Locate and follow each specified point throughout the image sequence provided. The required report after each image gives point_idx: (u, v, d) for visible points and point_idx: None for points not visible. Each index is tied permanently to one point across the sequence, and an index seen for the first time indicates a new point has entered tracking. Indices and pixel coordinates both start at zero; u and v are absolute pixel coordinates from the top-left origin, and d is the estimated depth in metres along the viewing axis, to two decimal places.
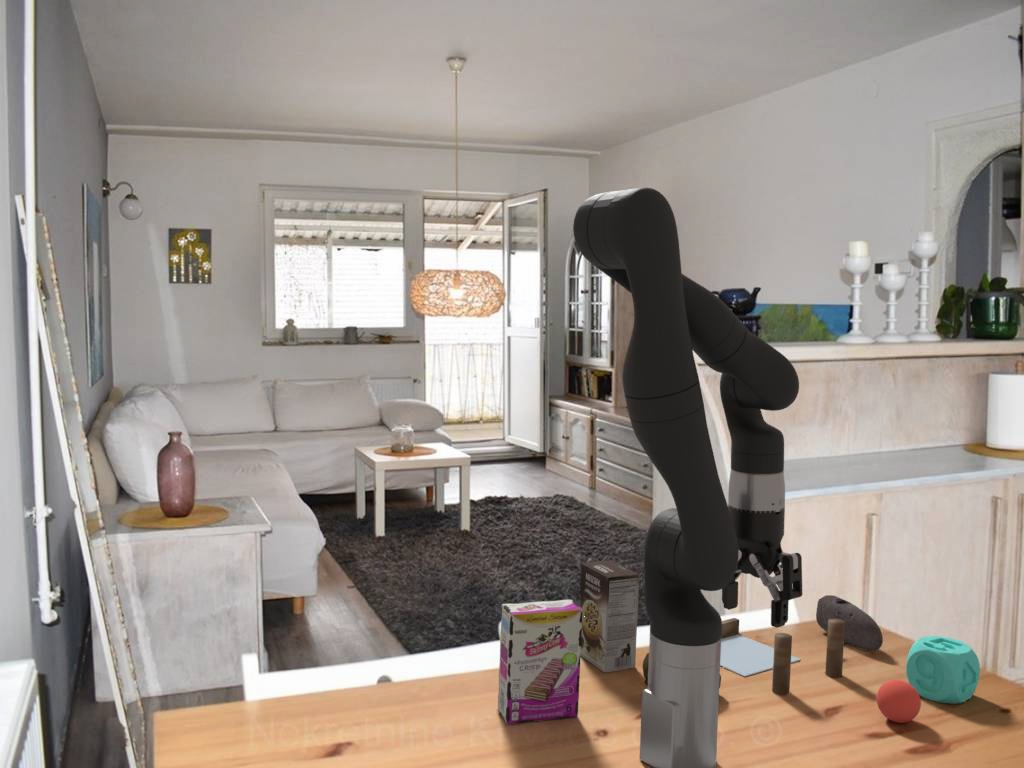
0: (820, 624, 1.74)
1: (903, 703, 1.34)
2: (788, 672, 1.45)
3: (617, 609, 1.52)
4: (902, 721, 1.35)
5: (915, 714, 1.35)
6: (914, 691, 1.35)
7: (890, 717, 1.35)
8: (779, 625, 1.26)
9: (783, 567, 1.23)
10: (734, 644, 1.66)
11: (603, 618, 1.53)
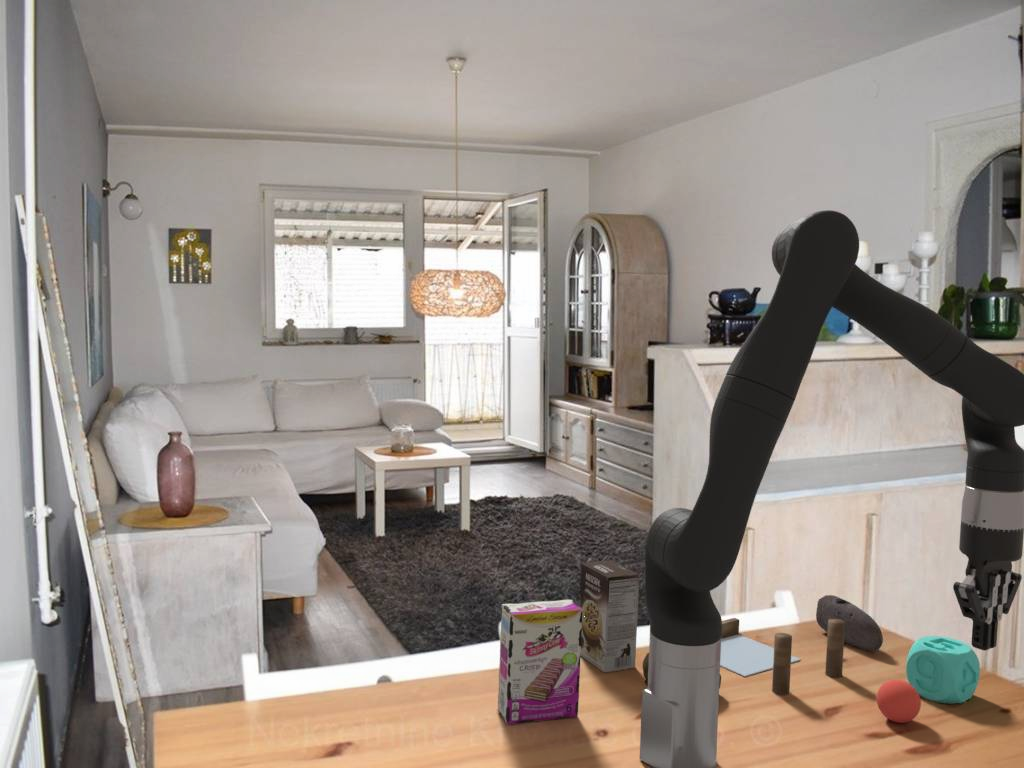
0: (820, 624, 1.74)
1: (903, 703, 1.34)
2: (788, 672, 1.45)
3: (617, 609, 1.52)
4: (902, 721, 1.35)
5: (915, 714, 1.35)
6: (914, 691, 1.35)
7: (890, 717, 1.35)
8: None
9: (1015, 584, 1.27)
10: (734, 644, 1.66)
11: (603, 618, 1.53)
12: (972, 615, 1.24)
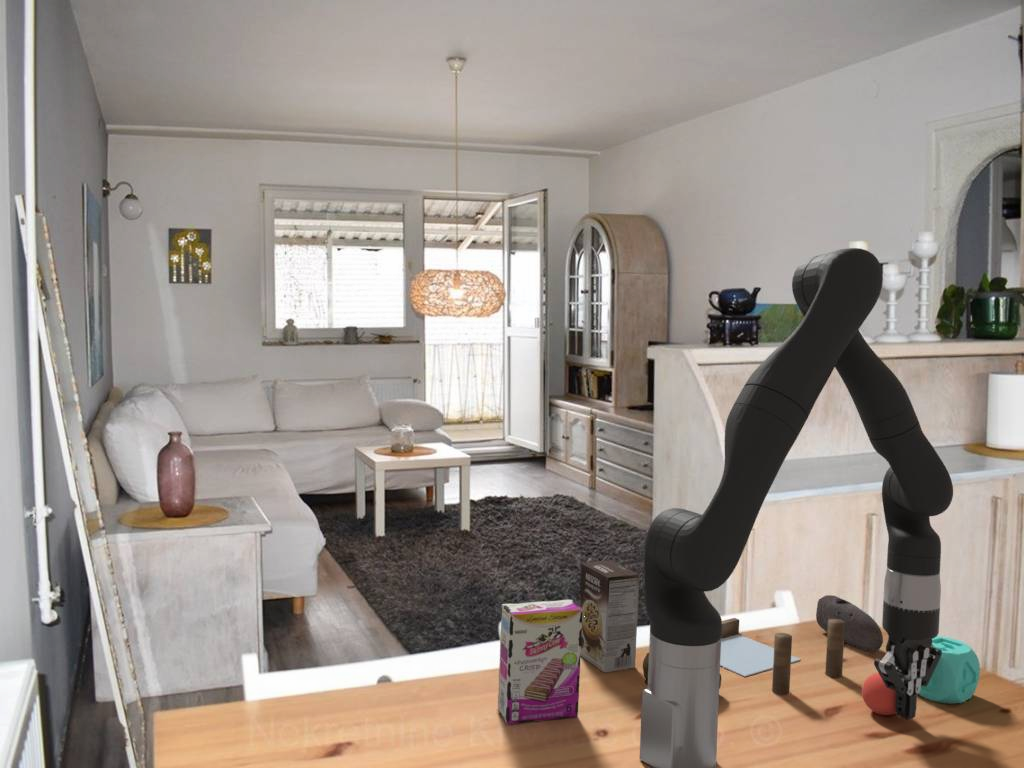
0: (820, 624, 1.74)
1: (882, 685, 1.37)
2: (788, 672, 1.45)
3: (617, 609, 1.52)
4: (893, 706, 1.37)
5: None
6: None
7: (881, 707, 1.37)
8: None
9: (935, 658, 1.37)
10: (734, 644, 1.66)
11: (603, 618, 1.53)
12: (894, 687, 1.34)
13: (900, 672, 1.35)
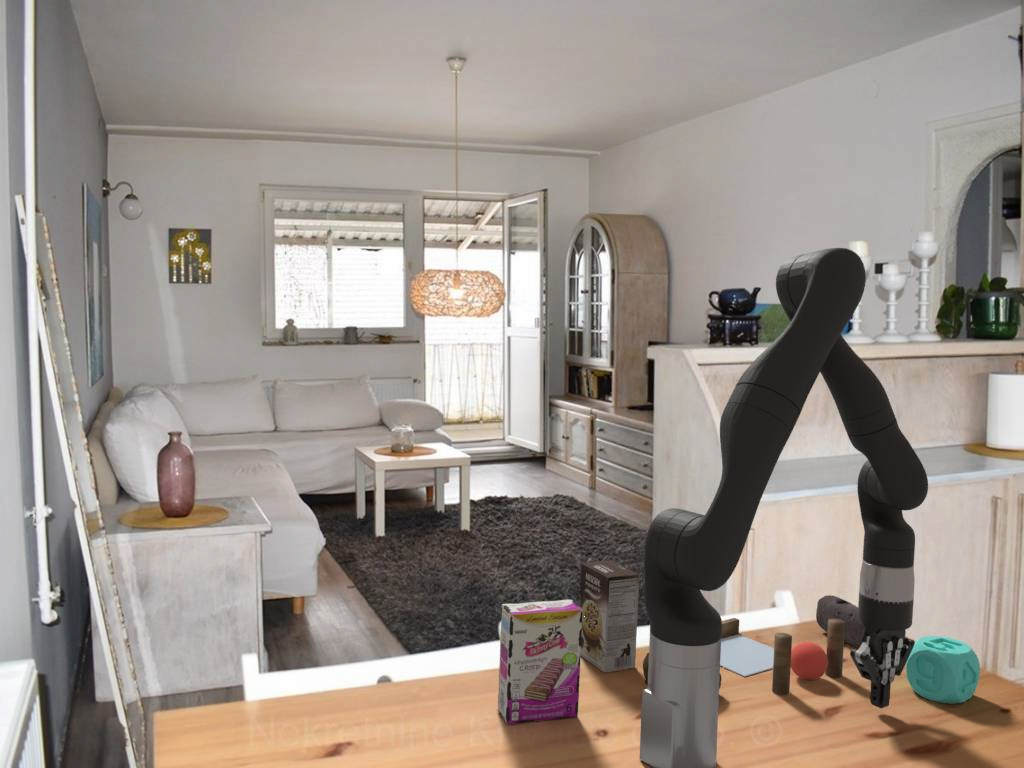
0: (820, 624, 1.74)
1: (810, 674, 1.49)
2: (788, 672, 1.45)
3: (617, 609, 1.52)
4: None
5: None
6: (825, 667, 1.50)
7: (793, 670, 1.52)
8: None
9: (908, 648, 1.40)
10: (734, 644, 1.66)
11: (603, 618, 1.53)
12: (869, 677, 1.37)
13: (875, 662, 1.38)
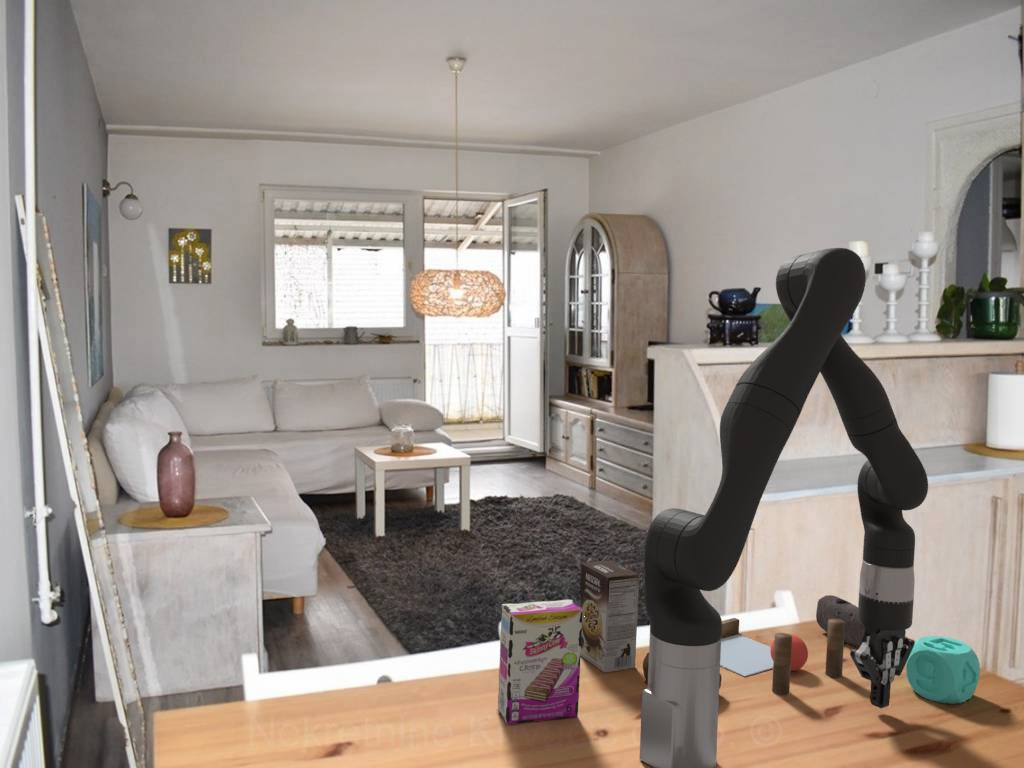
0: (820, 624, 1.74)
1: None
2: (788, 672, 1.45)
3: (617, 609, 1.52)
4: (795, 665, 1.53)
5: (804, 655, 1.53)
6: (797, 637, 1.55)
7: None
8: None
9: (908, 648, 1.40)
10: (734, 644, 1.66)
11: (603, 618, 1.53)
12: (869, 677, 1.37)
13: (875, 662, 1.38)
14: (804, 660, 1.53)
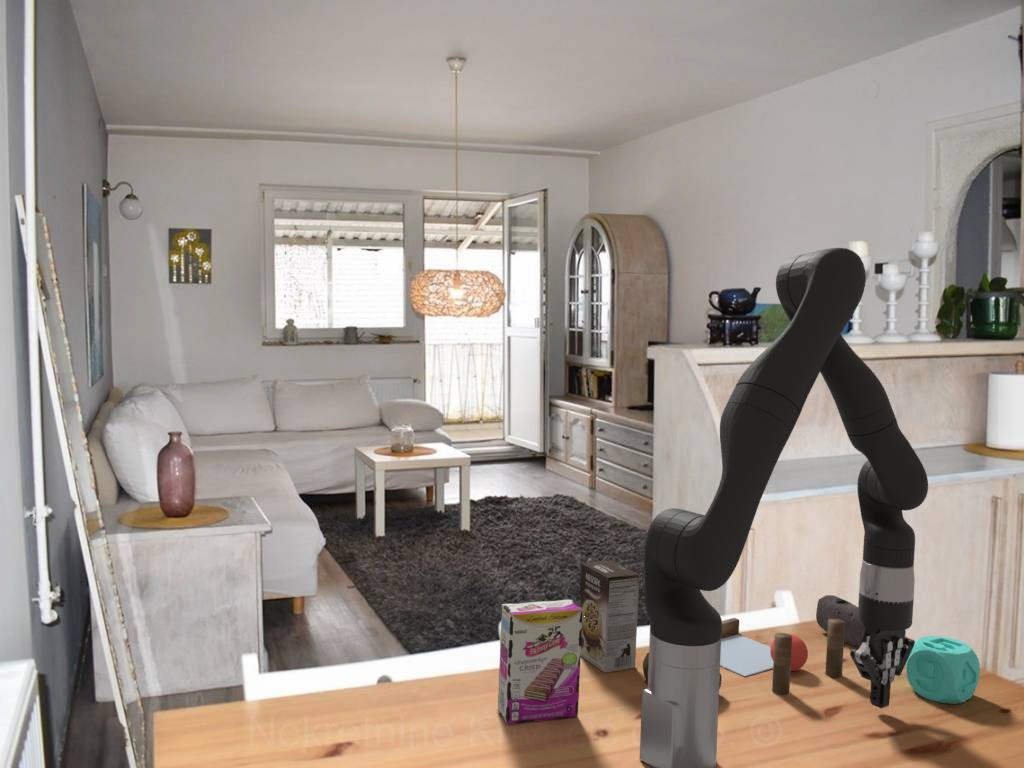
0: (820, 624, 1.74)
1: None
2: (788, 672, 1.45)
3: (617, 609, 1.52)
4: (795, 665, 1.53)
5: (803, 655, 1.53)
6: (797, 637, 1.55)
7: None
8: None
9: (908, 648, 1.40)
10: (734, 644, 1.66)
11: (603, 618, 1.53)
12: (869, 677, 1.37)
13: (875, 662, 1.38)
14: (804, 660, 1.53)
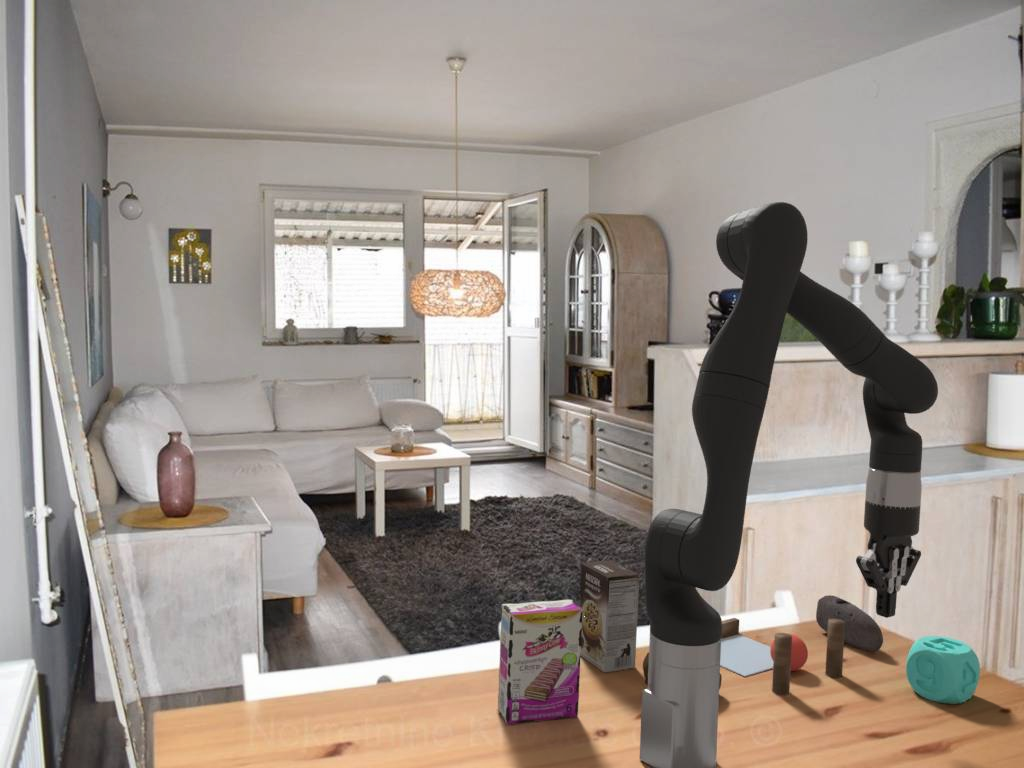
0: (820, 624, 1.74)
1: None
2: (788, 672, 1.45)
3: (617, 609, 1.52)
4: (795, 665, 1.53)
5: (803, 655, 1.53)
6: (797, 637, 1.55)
7: None
8: None
9: (914, 559, 1.39)
10: (734, 644, 1.66)
11: (603, 618, 1.53)
12: (875, 585, 1.36)
13: (881, 571, 1.37)
14: (804, 660, 1.53)
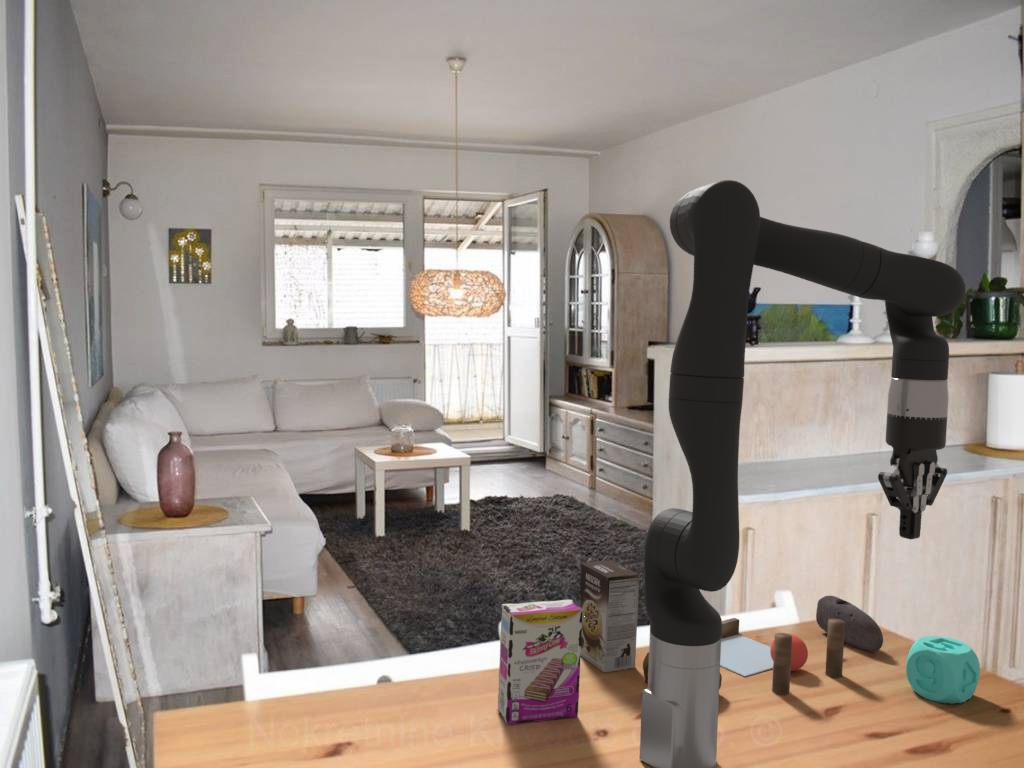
0: (820, 624, 1.74)
1: None
2: (788, 672, 1.45)
3: (617, 609, 1.52)
4: (795, 665, 1.53)
5: (803, 655, 1.53)
6: (797, 637, 1.55)
7: None
8: None
9: (940, 477, 1.29)
10: (734, 644, 1.66)
11: (603, 618, 1.53)
12: (898, 503, 1.26)
13: (904, 489, 1.27)
14: (804, 660, 1.53)
